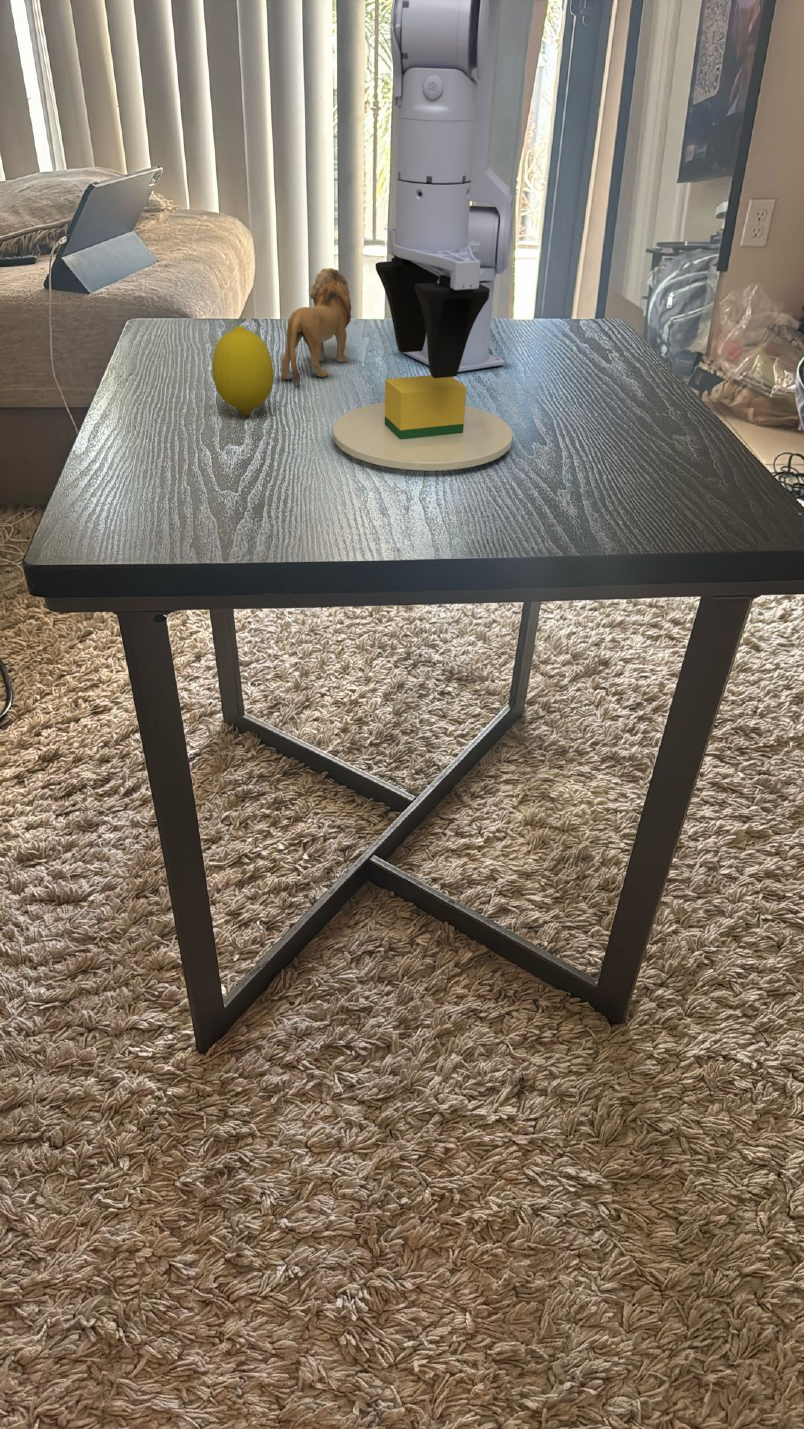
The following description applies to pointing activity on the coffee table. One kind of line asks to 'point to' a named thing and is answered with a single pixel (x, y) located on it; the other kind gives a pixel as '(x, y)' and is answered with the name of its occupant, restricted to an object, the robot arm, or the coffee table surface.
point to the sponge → (424, 406)
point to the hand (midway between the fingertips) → (426, 363)
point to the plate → (422, 441)
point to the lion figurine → (319, 323)
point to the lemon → (242, 369)
